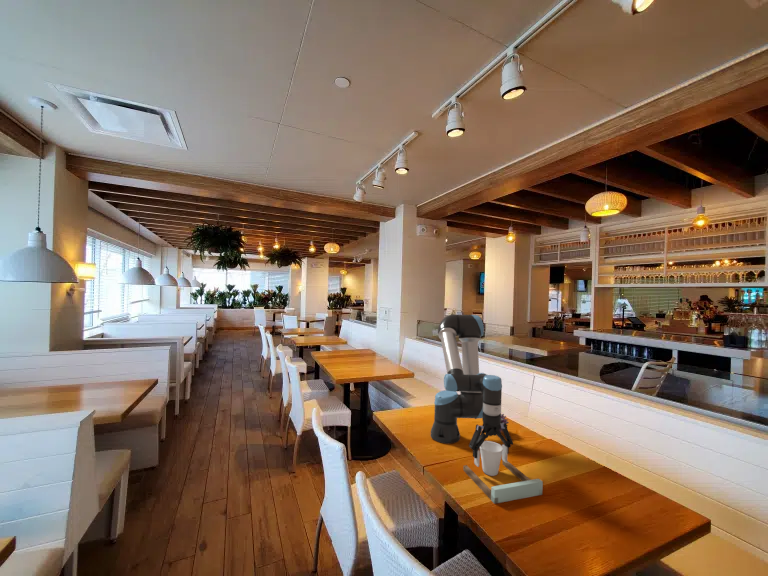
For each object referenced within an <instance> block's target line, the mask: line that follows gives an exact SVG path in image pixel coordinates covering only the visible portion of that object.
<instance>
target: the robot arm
mask: <svg viewBox="0 0 768 576" xmlns="http://www.w3.org/2000/svg"><path fill="white" fill-rule="evenodd" d="M484 331H485V327H484V322H483V320H482V317H481V316H479V315H477V314H476V315H475V314H449V315H446V316H445V317H443V318H442V320H441V321H440V323H439V324H438V327H437V334H438V338H439V339H440V340H441V341H440V342H441V347H442V353H443V357H444V362H445V368H446V373H445V374H444V376H443V387H444V389H445V390H440V391H439V392H436V394H435V397H434V417H433V418H434V421H433V423H432V426H431V428H430V438H431V439H432V440H434V441H435V442H438V443H440V444H441V443H442V444H456V443H458V442H459V441H460V440H461V433H460V430H459V429H460V428H459V426H458V419H475V420H476V419H482V425H480V424H476V425H475V430H474V432H473V434H472V436H471V439H470V442H469V444H468V448H470V449H471V450H472V457H473V459H474V460H473V464H474V465H475V466H476V467H478V468H479V467H480V458H481V454H480V446H481V445H482V443H483V442H484V441H486V439H488V437H493V436H494V437H495V436H497V437H498V439H499V440H500V441H501V442H502V444H501V446H502V447H503V451H502V456H501V460H502V462H503V461H504V462H505V463H507V461H508V455H509V453H510V451H509V450H510V449H509V448H511V447H512V445H513V444H514V441H513V439H512V437H511V434H510V432H509V430H508V426H507V425H508V423H507V424H505V423H504V422H501V414H502V396H503V395H502V394H503V393H502V389H503V385H502V384H503V383H502V381H503V380H502V378H501V377H500V376H499V375H494V374H486V373H484V372H480V367H479V366H480V363H479V361H480V360H479V345H478V344H479V341H481V337H483V336H484ZM456 337H458V340H459V341H460V342H461V356H460V352H459V347H458V342H457V338H456ZM461 357H462V358H461ZM461 359H462V360H461ZM458 392H459V393H460V394H458ZM500 428H502V430H503V432H502V431H501V432H500V431H499V430H500Z"/></svg>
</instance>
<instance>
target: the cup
mask: <svg viewBox="0 0 768 576" xmlns="http://www.w3.org/2000/svg"><path fill="white" fill-rule="evenodd" d="M479 451H480V458H481V468H482V471H483V473H484V474H485V475H487V476H490V477H494V476H495V477H496V476H497V475H498V474H499V469H500V465H501V460H502V451H503V447H502V444H500V443H497V442H495V441H491V440H484V442H483V443H482V445H481V446H480V448H479Z"/></svg>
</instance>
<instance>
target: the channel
mask: <svg viewBox="0 0 768 576" xmlns="http://www.w3.org/2000/svg"><path fill="white" fill-rule="evenodd" d="M502 465H503V466H504V467H505V468H506V469H508V471H510V472H511V473H512V474H513V475H514V476H515V477H517V478H518V479H519V480H520V481H521V482H522V481H527V480H531V479H530V478H529V477H528V476H527V475H526V474H524V473H523V471H522V472H521V471H520V470H519V468H518V467H516V466H514V465H513V464H512V463H510V462H509V461H508V460H507V463H505V462H504V461H503V460H502ZM462 469H463V472H464V473H465V474H466V475H467V476H468V477H469V478H470V479H471V480H472V481H473V482H474V484H475V485H476V486H477V487H478V488H479V489H480V490H481V491H482V492H483V493H484V494H485V496H487V498H488V499H489V500H490V501H491V500H492V499H493V498H492V499H491V496H492V495H491V488H490V487H489V486H488V485H487V484H485V482H484V480H482V479H481V478H480V477H479V475H477V474H476V473H475V472H474V471H473V470H472V469H471V468H470V467H469V466H468V465H467V464H466V465H463V468H462ZM539 491H540V490H539ZM542 495H543V493H542V494H540V492H539V495H538V496H542ZM492 497H493V496H492ZM495 499H496V498H494V500H495ZM497 499H498V498H497ZM491 502H492V503H493V504H499V503H498V500H497V501H495V502H494V501H493V500H492V501H491ZM496 502H497V503H496Z"/></svg>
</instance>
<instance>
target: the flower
mask: <svg viewBox="0 0 768 576" xmlns="http://www.w3.org/2000/svg"><path fill="white" fill-rule="evenodd" d="M506 418H507V415H505V414H504V413H501V422H504V423H505V424H507V427H508V426H509V425H508V424H509V421H508V418H507V419H506ZM499 431H500V432H501V433H503V430H502V428H500V430H499Z"/></svg>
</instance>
